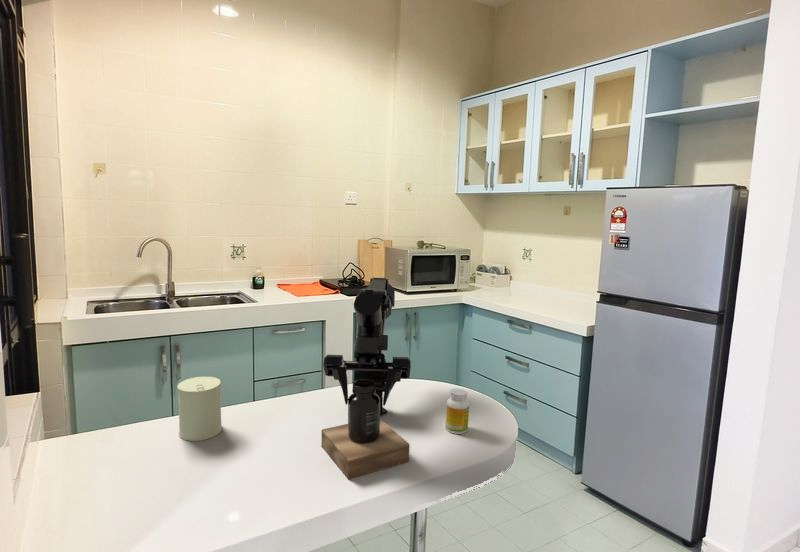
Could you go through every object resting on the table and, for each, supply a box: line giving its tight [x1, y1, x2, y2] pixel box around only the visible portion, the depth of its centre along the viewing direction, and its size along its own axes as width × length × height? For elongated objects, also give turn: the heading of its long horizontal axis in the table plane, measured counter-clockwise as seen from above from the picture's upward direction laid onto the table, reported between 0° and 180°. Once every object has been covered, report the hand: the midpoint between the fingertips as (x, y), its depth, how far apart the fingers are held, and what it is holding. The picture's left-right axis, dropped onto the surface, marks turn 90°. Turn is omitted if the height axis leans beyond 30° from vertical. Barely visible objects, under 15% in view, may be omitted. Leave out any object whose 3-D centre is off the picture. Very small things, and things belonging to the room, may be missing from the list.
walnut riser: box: [321, 418, 411, 480], centre depth 103 cm, size 14×14×4 cm
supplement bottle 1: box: [347, 379, 381, 443], centre depth 102 cm, size 7×7×12 cm
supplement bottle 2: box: [445, 387, 470, 435], centre depth 115 cm, size 5×5×10 cm
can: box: [176, 376, 223, 442], centre depth 109 cm, size 9×9×12 cm
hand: (365, 404), depth 100 cm, fingers open, 7 cm apart
